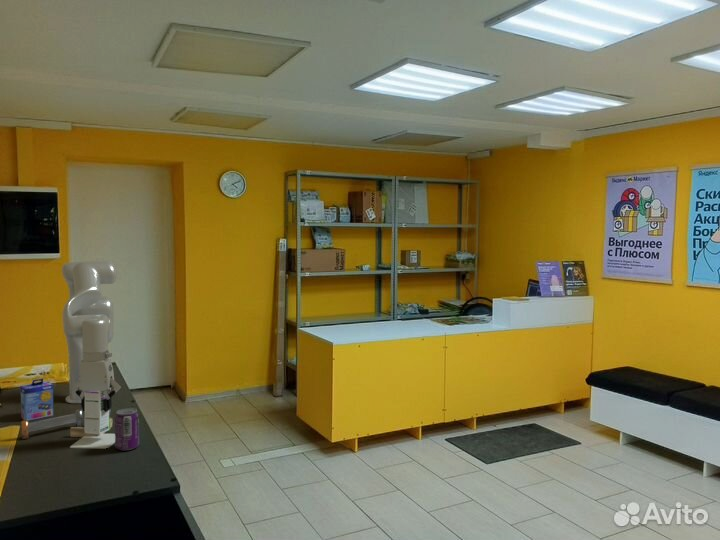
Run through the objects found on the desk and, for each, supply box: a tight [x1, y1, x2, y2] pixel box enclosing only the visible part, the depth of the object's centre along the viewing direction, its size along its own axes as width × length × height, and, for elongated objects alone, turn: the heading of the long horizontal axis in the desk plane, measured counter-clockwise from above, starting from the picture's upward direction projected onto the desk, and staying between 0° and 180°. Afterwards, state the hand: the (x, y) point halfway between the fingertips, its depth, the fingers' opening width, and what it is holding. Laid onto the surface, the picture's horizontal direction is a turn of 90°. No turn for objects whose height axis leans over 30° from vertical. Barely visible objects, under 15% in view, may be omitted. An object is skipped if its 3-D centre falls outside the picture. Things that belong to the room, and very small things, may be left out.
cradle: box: [69, 417, 114, 438], centre depth 197 cm, size 11×10×3 cm
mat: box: [69, 433, 115, 450], centre depth 188 cm, size 12×12×1 cm
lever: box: [20, 408, 84, 440], centre depth 195 cm, size 19×2×6 cm, turn 134°
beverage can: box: [114, 407, 140, 452], centre depth 183 cm, size 7×7×12 cm
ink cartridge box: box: [20, 378, 54, 422], centre depth 211 cm, size 10×6×14 cm, turn 137°
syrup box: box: [83, 388, 112, 434], centre depth 188 cm, size 6×6×14 cm
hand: (96, 409), depth 188 cm, fingers closed on syrup box, 6 cm apart
